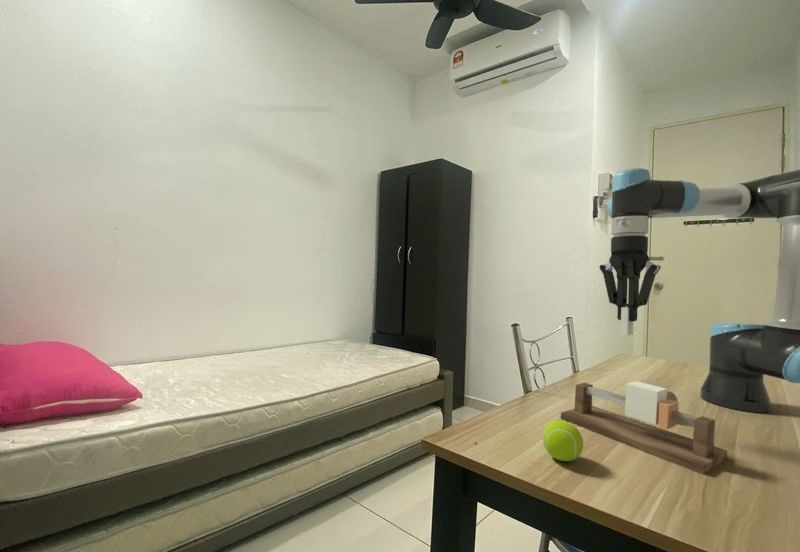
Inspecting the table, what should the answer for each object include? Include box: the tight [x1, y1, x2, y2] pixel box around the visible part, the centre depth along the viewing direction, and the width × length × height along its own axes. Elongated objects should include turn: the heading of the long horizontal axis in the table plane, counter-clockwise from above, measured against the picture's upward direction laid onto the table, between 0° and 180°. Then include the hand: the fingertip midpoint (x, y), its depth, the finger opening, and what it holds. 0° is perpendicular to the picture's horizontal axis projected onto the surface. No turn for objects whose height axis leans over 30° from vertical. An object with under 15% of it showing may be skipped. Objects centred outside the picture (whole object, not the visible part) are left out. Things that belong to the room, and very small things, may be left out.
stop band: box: [657, 400, 679, 430], centre depth 76 cm, size 5×2×5 cm, turn 124°
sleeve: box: [624, 380, 668, 426], centre depth 80 cm, size 5×6×7 cm
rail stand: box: [560, 382, 728, 475], centre depth 81 cm, size 12×28×8 cm, turn 33°
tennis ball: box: [542, 420, 584, 462], centre depth 70 cm, size 7×7×7 cm
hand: (626, 334), depth 89 cm, fingers closed
